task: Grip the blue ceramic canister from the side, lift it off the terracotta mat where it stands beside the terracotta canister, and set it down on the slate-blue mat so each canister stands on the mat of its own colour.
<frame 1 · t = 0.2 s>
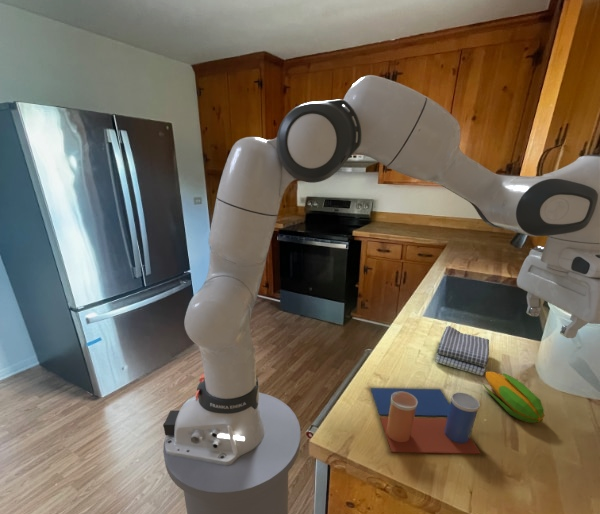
hand: (548, 325, 64), 31 cm above the counter, tool pointing down, fingers open, 8 cm apart
terracotta mat: (427, 434, 78), on the counter
terracotta canister: (398, 433, 78), resting on terracotta mat
corn: (505, 404, 90), on the counter
blue mat: (411, 402, 90), on the counter
blue canister: (456, 434, 78), resting on terracotta mat
towel: (460, 359, 111), on the counter
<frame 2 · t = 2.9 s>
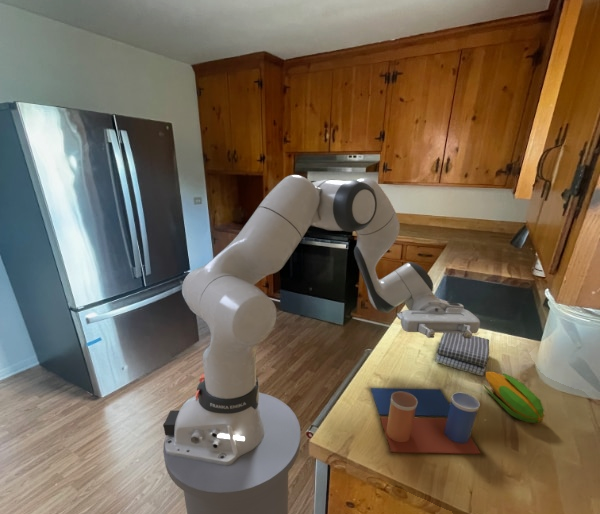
hand: (450, 335, 83), 20 cm above the counter, tool horizontal, fingers open, 8 cm apart
nothing on the counter moved.
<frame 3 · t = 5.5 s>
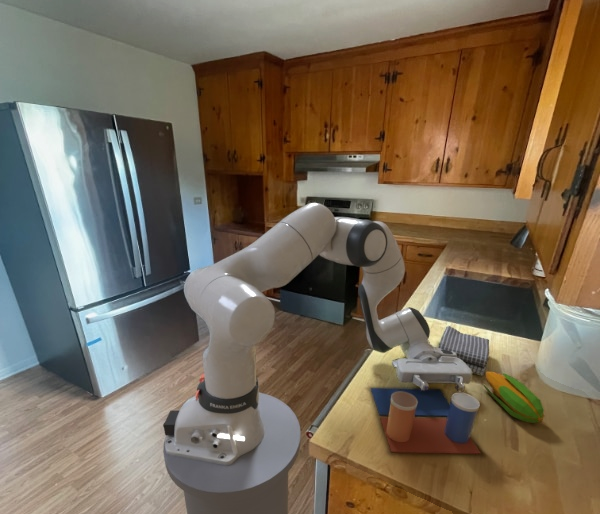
hand: (443, 388, 86), 6 cm above the counter, tool horizontal, fingers open, 8 cm apart
nothing on the counter moved.
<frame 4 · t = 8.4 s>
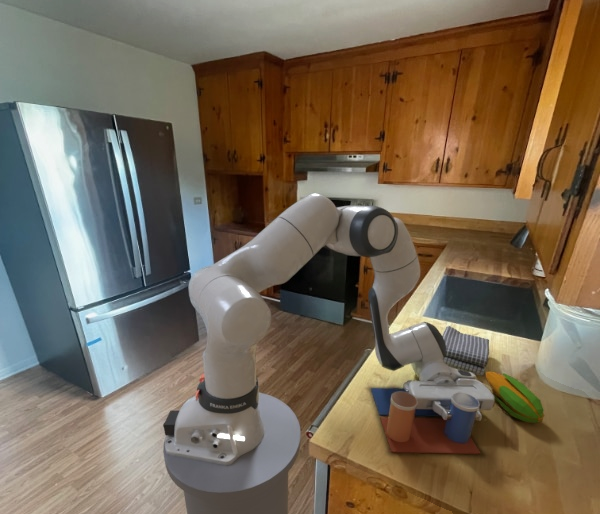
hand: (463, 418, 75), 6 cm above the counter, tool horizontal, fingers closed on blue canister, 5 cm apart
blue canister: (456, 434, 78), resting on terracotta mat, touching gripper
everything else where it was.
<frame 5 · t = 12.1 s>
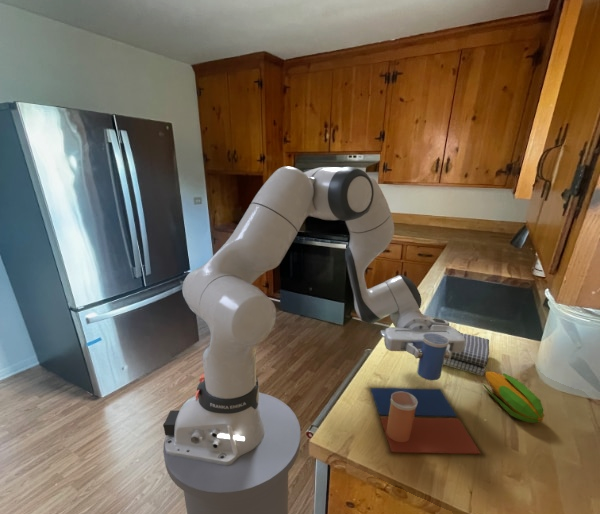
hand: (434, 356, 80), 17 cm above the counter, tool horizontal, fingers closed on blue canister, 5 cm apart
blue canister: (428, 373, 83), point 11 cm above the counter, touching gripper
everything else where it was.
when the fingers open (6 cm above the counter, at t = 16.0 s): blue canister stays where it is, resting on blue mat.
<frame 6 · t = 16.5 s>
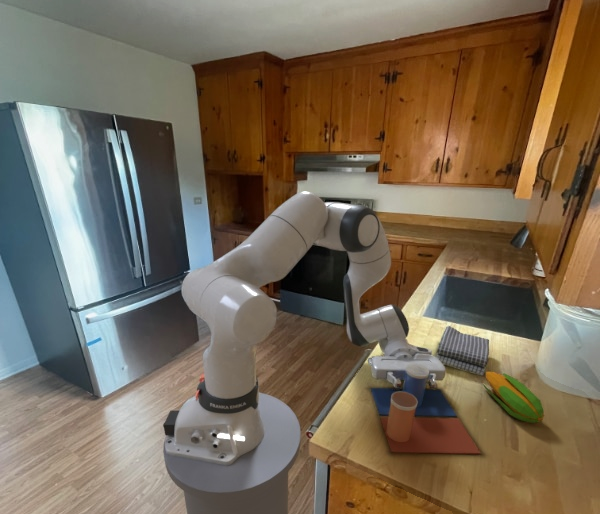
hand: (415, 385, 86), 6 cm above the counter, tool horizontal, fingers open, 8 cm apart
blue canister: (411, 400, 90), resting on blue mat
everything else where it was.
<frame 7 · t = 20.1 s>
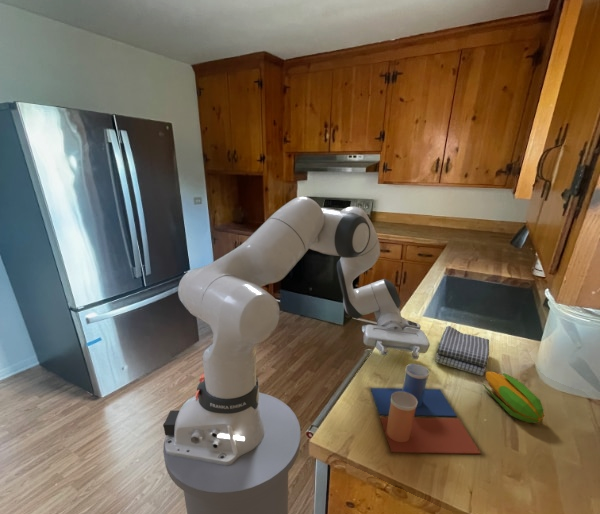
hand: (400, 355, 97), 8 cm above the counter, tool horizontal, fingers open, 8 cm apart
nothing on the counter moved.
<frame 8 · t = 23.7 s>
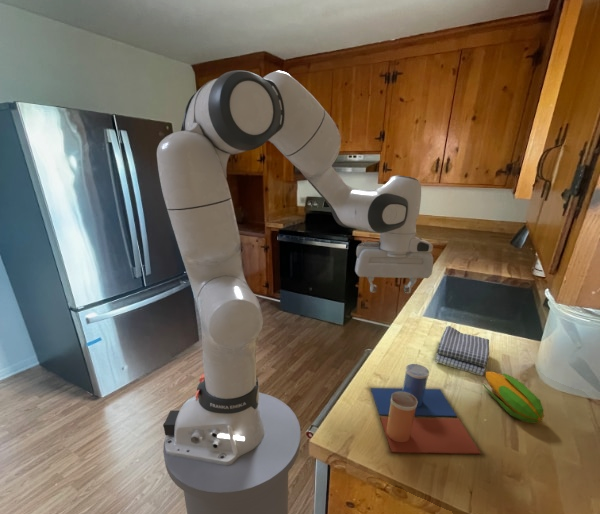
hand: (389, 291, 91), 27 cm above the counter, tool pointing down, fingers open, 8 cm apart
nothing on the counter moved.
at the end: blue canister inside the target area (0.1 cm from its centre), resting on blue mat; blue canister tilted 0°; terracotta canister moved 0.0 cm from its start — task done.
